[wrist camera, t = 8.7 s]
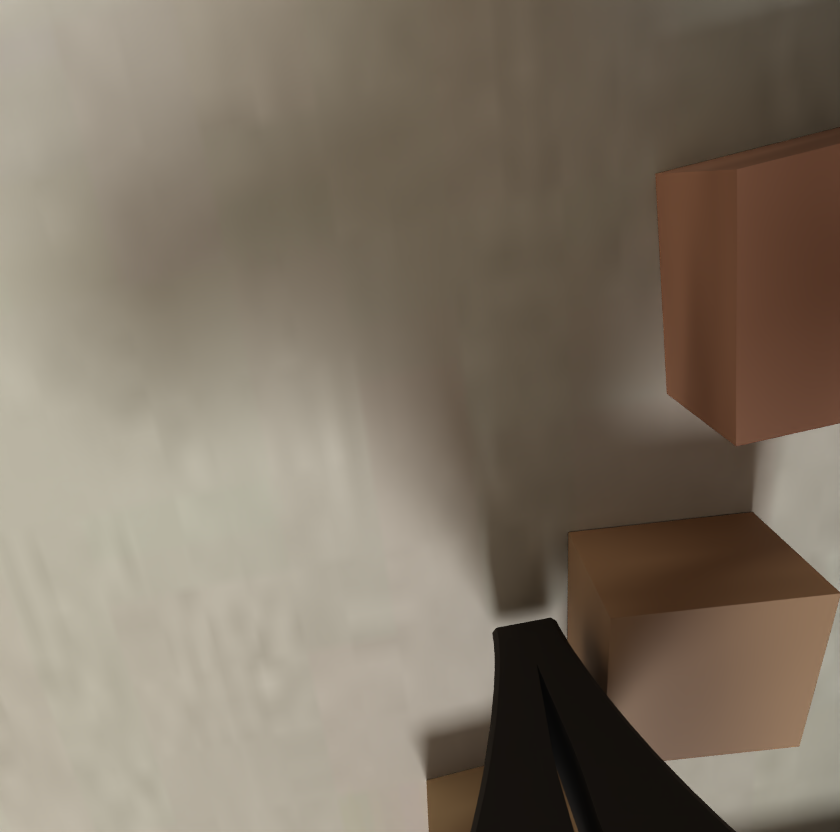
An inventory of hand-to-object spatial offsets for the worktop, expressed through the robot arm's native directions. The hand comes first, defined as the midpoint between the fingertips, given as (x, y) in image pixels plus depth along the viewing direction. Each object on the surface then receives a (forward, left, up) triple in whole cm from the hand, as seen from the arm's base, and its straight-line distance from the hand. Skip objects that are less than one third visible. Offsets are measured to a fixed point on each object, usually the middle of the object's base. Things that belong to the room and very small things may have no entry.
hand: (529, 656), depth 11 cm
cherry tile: (-5, -7, -1) cm, 9 cm away
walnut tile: (-3, 0, -1) cm, 3 cm away
